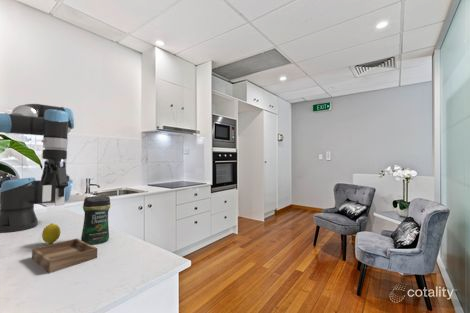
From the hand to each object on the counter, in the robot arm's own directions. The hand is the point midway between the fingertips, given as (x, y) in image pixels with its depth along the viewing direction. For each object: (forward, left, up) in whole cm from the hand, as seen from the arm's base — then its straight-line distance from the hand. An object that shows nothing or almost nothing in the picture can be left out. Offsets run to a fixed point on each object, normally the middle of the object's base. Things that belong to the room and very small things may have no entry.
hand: (52, 203), depth 88 cm
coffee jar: (+11, +11, -16) cm, 22 cm away
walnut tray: (+19, -2, -16) cm, 25 cm away
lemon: (0, 0, -16) cm, 16 cm away
